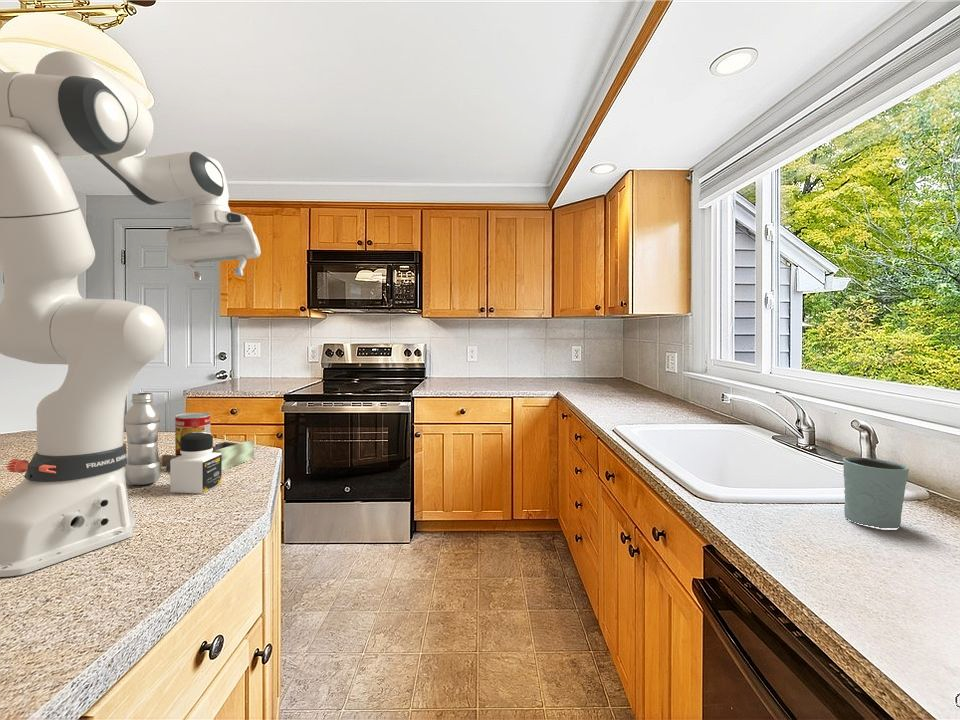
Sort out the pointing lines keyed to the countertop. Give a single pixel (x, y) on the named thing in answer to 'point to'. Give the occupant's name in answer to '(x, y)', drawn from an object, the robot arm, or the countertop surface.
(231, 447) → the trap lane
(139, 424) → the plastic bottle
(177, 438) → the canned food
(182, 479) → the medicine bottle
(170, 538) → the countertop surface
